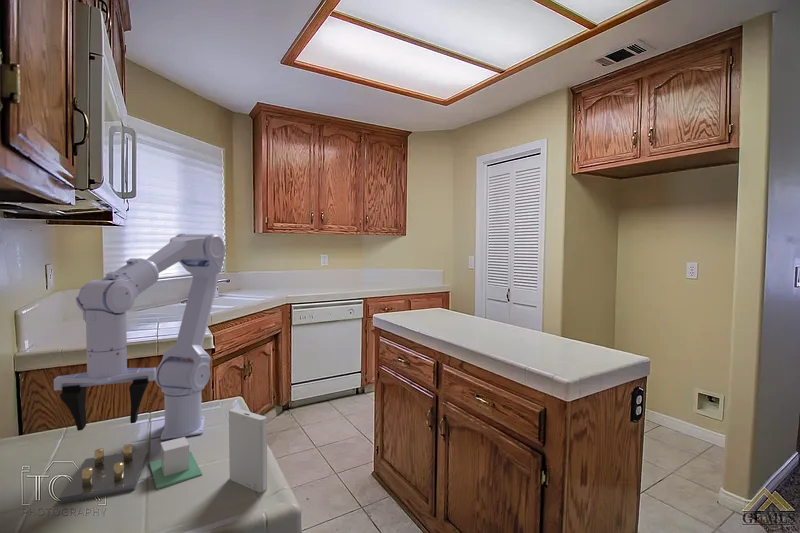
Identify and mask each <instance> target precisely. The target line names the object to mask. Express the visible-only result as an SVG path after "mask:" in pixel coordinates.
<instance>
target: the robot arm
mask: <svg viewBox="0 0 800 533" xmlns="http://www.w3.org/2000/svg"><path fill="white" fill-rule="evenodd" d="M226 252H227V249H226V245H225V244H224V241H223V239H222V237H221V236H220V235H219V234H218V233H210V234H209V233H207V234H205V233H203V234H200V233H199V234H197V233H196V234H195V233H194V234H192V233H191V234H190V233H189V234H188V233H187V234H186V233H177V235H175V236H174V237H170V238H169V243H167V244H166V245H164V246H163V247H161V248H160V249H158V251H156V252H154V253H153V254H152V255H150V256H149V257H148V258H140V257H138V258H134V257H133V258H129V259H127V260H126V261H125V262H126V264H124V265H123V266H121V267H119V268H118V269H117V270H114V271H108V272H107V273H106V274H105V277H103V278H102V279H93V280H90V281H88V282H86V283H85V284H84V285H83V286H82V287H81V288H80V289H79V293H78V296H76V297H75V303H76V305H77V307H78V309H79V310H80V311H81V312H82V320H84V322H85V337H86V338H85V342H86V344H85V345H86V348H85V349H86V372H85V371H84V372H78V373H74V374H67V375H66V374H65V375H57V376H56V377H55V378H54V379H53V391H61V393H60V394H59V397H60V400H61V401H62V402H63V403H64V405H65V406H66V407H67V408H68V410H69V411H70V414H71V415H72V418H73V420H74V422H75V426H76V429H77V431H78V432H79V431H83V430H84V429H85V428H86V426H87V412H86V411H87V410H86V400H87V399H86V397H87V389H88V388H87V387H92V386H103V385H104V386H105V385H113V384H122V383H123V384H125V383H130V385H129V386H128V388H129V399H130V417H129V419H130V420H129V421H130V424H136V422H137V421H138V416H139V410H140V406H141V403H142V400H143V396H145V395H144V394H145V392H146V389H147V388H148V386H149V383H150V382H153V381H155V384H156V385H157V386H158V387H160V388H161V390H160V391H161V393H164V427H163V429H162V432H161V435H160V440H161V441H163V440H164V441H165V440H170V439H171V440H172V439H178V438H182V437H185V438H186V437H190V436H196V435H201V434H203V433H204V426H205V418H206V417H205V415H202V390H204V389H205V387H206V385H207V384H208V382H209V380H210V378H211V369H210V368H211V365H210V364H211V359H212V357H211V356H210V355H209V353H208V352H207V351H206V350H204V348H203V345H204V340H205V337H206V336H205V335H206V332H207V328H208V325H209V319H210V316H211V311H212V307H213V302H214V300H215V295H216V290H217V286H218V282H219V277H220V273H221V272H222V269H223V264H224V261H225V256H226ZM177 263H179V264H180V265H181V266H182V267H183V268H184V269H185V271H186V272H188V273H190V274H191V276H192V280H191V281H192V282H191V285H190V288H189V293H188V297H187V301H186V304H185V307H184V308H185V309H184V312H183V315H182V319H181V323H180V326H179V330H178V335H177V339H176V343H175V344H174V345H173V346H171V347H170V348H169V349H167V350H165V351H164V352H163V354H162V359H161V361H160V363H159V364H158V366H156V367H128V353H127V352H128V349H127V348H128V346H127V344H128V343H127V341H128V339H127V337H128V336H127V311H130V310H131V309H132V307H133V306H134V303H135V300H136V298H138V296H139V295H140V294H142V293H143V292H144V291H147V289H149V288H150V287H152V286H153V285H154V284H156V283H157V282H158V280H159V276H160V275H159V274H160V273H162V272H163V271H166V270H167V269H169V268H170V267H172V266H175V264H177ZM185 359H186V360H185Z"/></svg>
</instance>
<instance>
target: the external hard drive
mask: <svg viewBox="0 0 800 533" xmlns="http://www.w3.org/2000/svg"><path fill="white" fill-rule="evenodd" d="M228 436H229V437H228V440H229V441H228V442H229V446H228V447H229V451H228V452H229V453H228V454H229V455H228V456H229V480H230V481H232V482H235V483H237V484H240V485H241V486H244V487H247V488H248V489H250V490H253V491H255V492H257V493H263V492H265V491H267V490H268V417H267V416H265V415H261V414H257V413H254V412H251V411H247V410H244V409H241V408H238V407H234V408H231V409H229V410H228Z"/></svg>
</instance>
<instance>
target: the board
mask: <svg viewBox="0 0 800 533" xmlns="http://www.w3.org/2000/svg"><path fill="white" fill-rule="evenodd" d="M149 468H150V471H151V474H152V478H153V481H154V486H155V488H156V490H161V489H164V488H167V487H170V486H173V485H176V484H179V483H182V482H185V481H188V480H191V479H194V478H197V477H200V476H203V472H202V470H201V469H200V467H199V465H198V463H197V460H196V459H195V457H194V455H193V453H192V452H191V451H190V444H189V441H188V439H187V438H186V436H185V437H178V438H172V439H171V440H170V439H168V440H166V441H165V440H164V441H162V442H161V441H160V459H157V460H152V461H149Z"/></svg>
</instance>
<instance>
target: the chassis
mask: <svg viewBox="0 0 800 533" xmlns="http://www.w3.org/2000/svg"><path fill="white" fill-rule="evenodd" d="M93 452H94V455H93V456H94V457H90V458H84V461H83V462H82V464H81V465H80V467H79V468H78V470H77V472H76V473H75V475H74V476H73V478H72V479H71V481H69V483H68V485H67V487H66V488H65V490H64V491H63V493H62V494H61V495H60V497H59V504H60V505H62V504H67V503H72V502H73V503H74V502H77V501H83V500H88V499H89V500H90V499H93V498H99V497H103V496H109V495H110V496H111V495H115V494H121V493H124V492H125V493H127V492H130V491H136V487H137V484H138V483H139V480H140V477H141V474H142V471H143V469H144V466H145V463H146V462H147V458H148V455H149V448H147V449H141V450H134V451H133V444H131V443H128V444H125V445H123V446H122V452H121V453H114V454H109V455H108V454H107V455H105V448H97V449H95V450H94V451H93Z"/></svg>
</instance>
